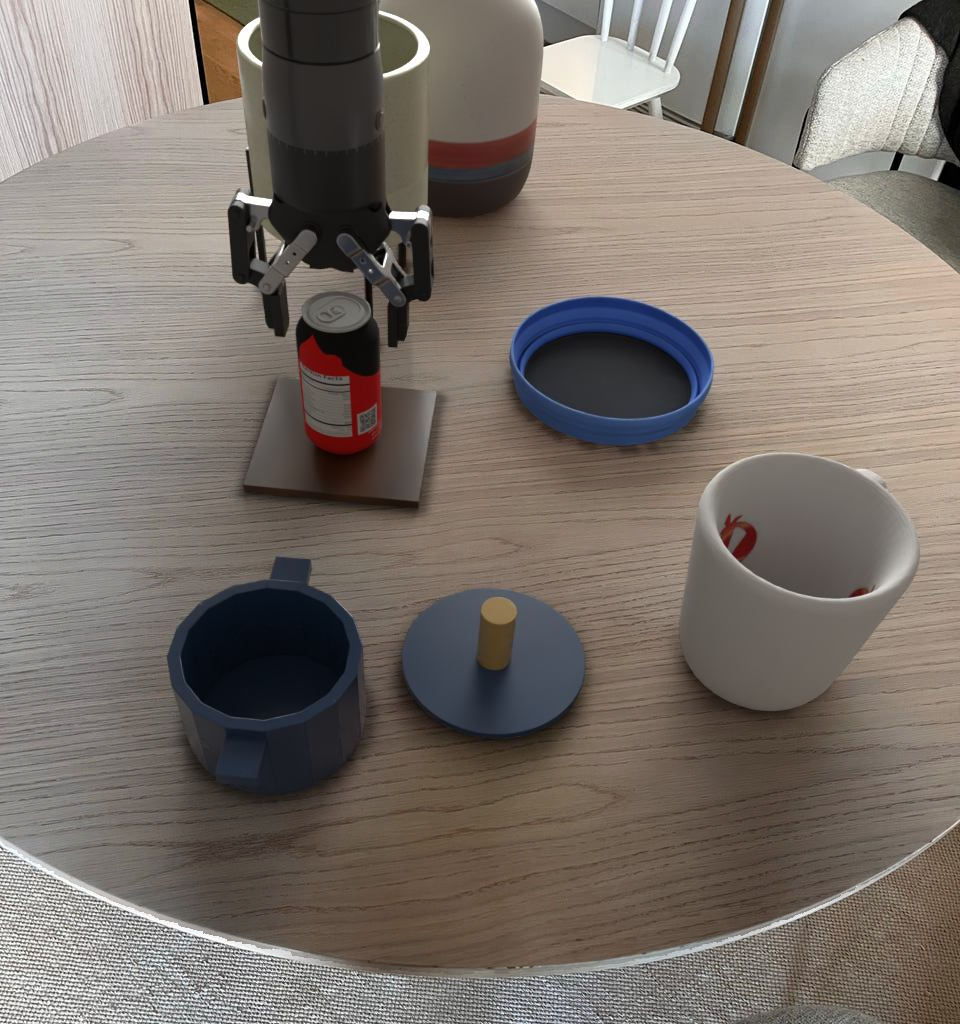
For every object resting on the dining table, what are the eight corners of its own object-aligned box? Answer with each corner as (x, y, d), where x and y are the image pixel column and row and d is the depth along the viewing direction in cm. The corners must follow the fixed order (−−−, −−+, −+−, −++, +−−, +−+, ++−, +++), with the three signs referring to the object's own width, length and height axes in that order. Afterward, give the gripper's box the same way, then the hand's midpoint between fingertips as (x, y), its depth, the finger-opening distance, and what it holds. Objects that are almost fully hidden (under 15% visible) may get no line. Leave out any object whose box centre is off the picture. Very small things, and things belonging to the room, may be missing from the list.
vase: (503, 245, 106) (524, -10, 87) (352, 211, 108) (340, -43, 90) (547, 172, 116) (573, -71, 97) (408, 142, 118) (407, -99, 100)
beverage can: (397, 437, 85) (396, 312, 75) (340, 472, 82) (332, 346, 72) (346, 402, 87) (339, 276, 78) (290, 434, 84) (275, 307, 75)
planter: (462, 295, 100) (474, 41, 82) (349, 367, 92) (335, 103, 74) (349, 236, 105) (337, -14, 87) (233, 299, 97) (194, 38, 79)
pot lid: (390, 734, 68) (388, 679, 63) (413, 590, 76) (413, 531, 71) (581, 753, 67) (595, 699, 63) (584, 607, 75) (596, 549, 71)
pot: (156, 823, 63) (130, 759, 57) (221, 613, 73) (205, 541, 67) (343, 841, 62) (337, 779, 57) (381, 628, 73) (379, 558, 67)
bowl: (725, 358, 96) (735, 326, 93) (676, 477, 85) (685, 444, 82) (546, 308, 99) (550, 275, 96) (476, 416, 88) (479, 382, 86)
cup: (755, 528, 82) (808, 389, 71) (910, 619, 77) (992, 484, 66) (619, 660, 72) (656, 523, 62) (785, 773, 67) (857, 646, 57)
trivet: (244, 492, 81) (242, 484, 80) (279, 383, 90) (278, 375, 89) (418, 509, 81) (418, 501, 80) (437, 398, 90) (437, 391, 89)
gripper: (443, 102, 67) (436, 317, 79) (227, 81, 67) (255, 299, 79) (430, 156, 62) (425, 376, 75) (199, 134, 62) (233, 357, 75)
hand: (338, 336), depth 77 cm, fingers open, 8 cm apart
